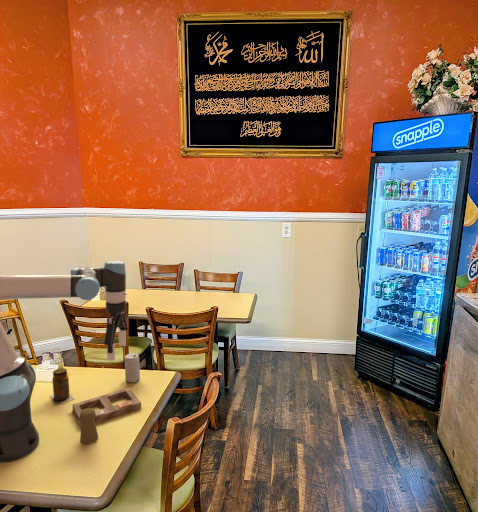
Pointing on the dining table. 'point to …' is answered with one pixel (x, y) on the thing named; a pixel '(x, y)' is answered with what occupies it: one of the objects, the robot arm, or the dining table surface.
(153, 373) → the dining table surface
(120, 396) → the caddy
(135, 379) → the beverage can
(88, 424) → the cork
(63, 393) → the condiment
